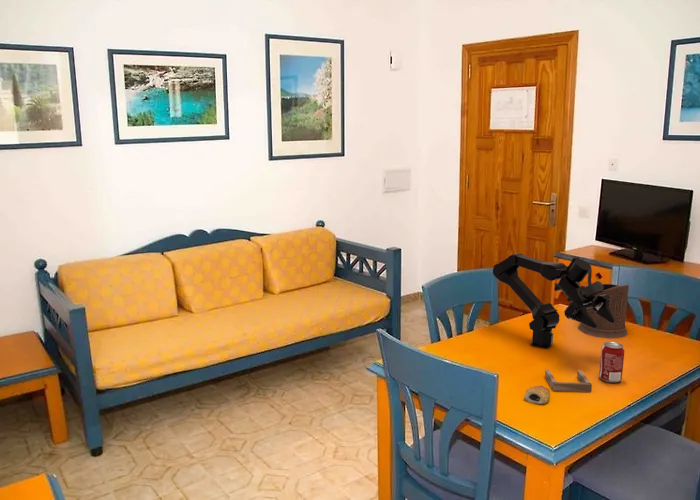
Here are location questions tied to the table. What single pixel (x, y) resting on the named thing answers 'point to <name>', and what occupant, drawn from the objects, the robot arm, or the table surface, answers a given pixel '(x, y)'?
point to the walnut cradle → (569, 383)
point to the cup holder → (617, 310)
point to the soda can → (611, 362)
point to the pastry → (537, 395)
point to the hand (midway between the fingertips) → (605, 324)
